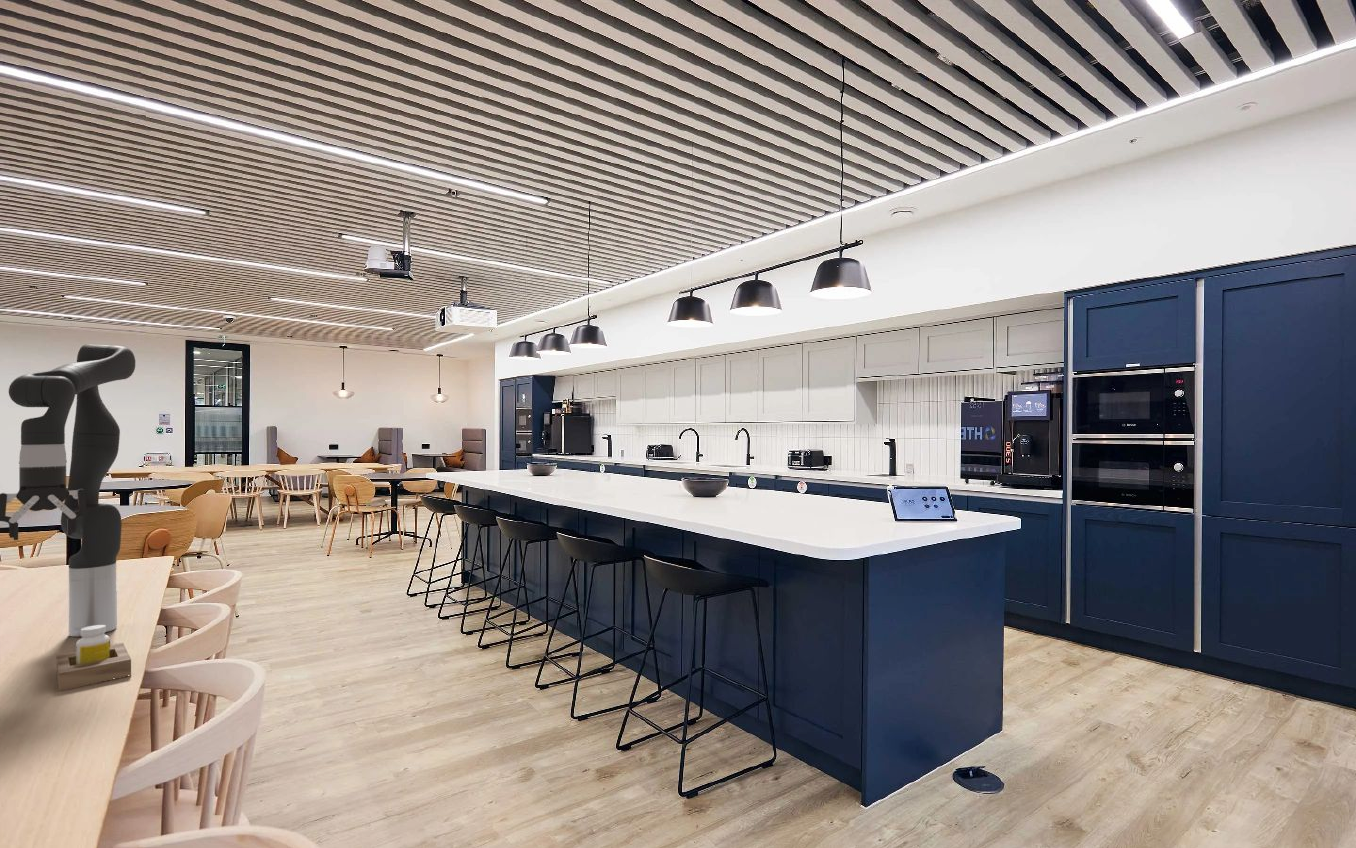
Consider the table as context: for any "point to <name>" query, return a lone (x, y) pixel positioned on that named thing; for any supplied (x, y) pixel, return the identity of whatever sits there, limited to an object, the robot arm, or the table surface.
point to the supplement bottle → (92, 645)
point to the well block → (92, 668)
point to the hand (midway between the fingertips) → (43, 537)
